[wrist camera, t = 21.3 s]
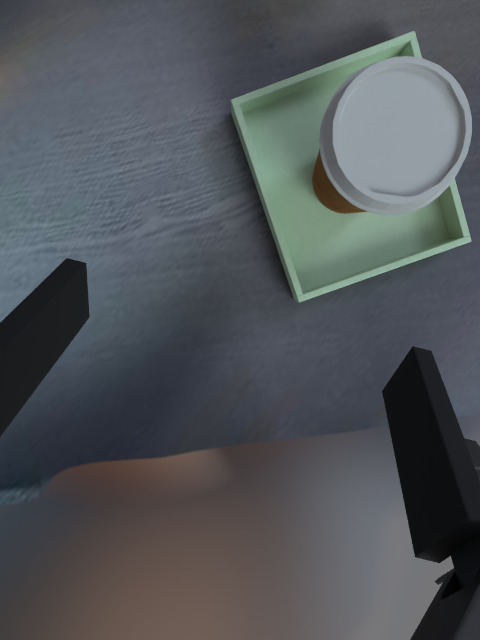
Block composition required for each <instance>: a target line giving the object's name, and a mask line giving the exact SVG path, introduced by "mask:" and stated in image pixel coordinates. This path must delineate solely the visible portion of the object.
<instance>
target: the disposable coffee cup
mask: <svg viewBox="0 0 480 640" xmlns="http://www.w3.org/2000/svg"><path fill="white" fill-rule="evenodd" d="M471 135H472V117H471V112H470V108H469V103H468V101H467V98H466V96H465V93H464V92H463V90H462V88H461V87H460V85H459V83H458V82H457V81H456V80H455V79H454V78H453V76H452V75H451V74H450V73H448V72H447V71H446V70H445V69H443V68H442V67H441V66H439V65H437V64H435V63H432V62H430V61H428V60H425V59H422V58H419V57H410V56H402V57H392V58H389V59H386V60H383V61H379V62H375V63H372V64H370V65H368V66H365V67H363V68H361V69H360V70H358V71H357V72H355V73H354V74H352V75H351V76H350V77H349V78H348V79H347V80H346V81H345V82H343V83H342V84H341V86H340V87H339V88H338V90H337V91H336V92H335V94H334V95H333V96H332V98H331V100H330V102H329V104H328V107H327V109H326V111H325V113H324V116H323V120H322V124H321V129H320V139H319V143H320V149H319V153H318V156H317V160H316V164H315V167H314V170H313V176H312V183H313V189H314V192H315V195H316V196H317V198H318V199H319V201H320V202H321V203H322V204H323V205H324V206H325V207H326V208H328V209H329V210H331V211H334V212H337V213H342V214H349V213H359V212H370V213H375V214H380V215H399V214H405V213H408V212H412V211H415V210H417V209H420V208H422V207H424V206H426V205H428V204H429V203H431V202H432V201H433V200H435V199H436V198H437V197H439V196H440V195H441V194H442V193H443V192H444V191H445V190H446V189H447V188H448V187H449V186H450V184H451V183H452V181H453V179H454V178H455V176H456V175H457V173H458V172H459V169H460V168H461V165H462V163H463V161H464V159H465V157H466V155H467V153H468V149H469V145H470V142H471Z"/></svg>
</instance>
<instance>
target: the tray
mask: <svg viewBox="0 0 480 640" xmlns="http://www.w3.org/2000/svg"><path fill="white" fill-rule="evenodd" d="M402 56H410V57H419V58H422V56H421V53H420V49H419V45H418V42H417V38H416V34H415V31H412V32H410V33H407V34H404V35H402V36H399V37H397V38H394V39H391V40H389V41H386V42H383V43H381V44H378V45H375V46H373V47H370V48H367V49H365V50H362V51H359V52H357V53H354V54H351V55H349V56H346V57H343V58H341V59H338V60H335V61H333V62H330V63H327V64H325V65H322V66H319V67H317V68H314V69H311V70H309V71H306V72H303V73H301V74H298V75H295V76H293V77H290V78H287V79H285V80H282V81H279V82H277V83H274V84H271V85H269V86H266V87H263V88H261V89H258V90H255V91H253V92H250V93H247V94H245V95H242V96H239V97H237V98H234V99H231V114H232V117H233V120H234V123H235V126H236V129H237V132H238V135H239V138H240V141H241V144H242V147H243V150H244V153H245V156H246V158H247V161H248V164H249V167H250V170H251V173H252V176H253V179H254V182H255V185H256V188H257V191H258V194H259V197H260V200H261V203H262V206H263V209H264V212H265V215H266V218H267V221H268V224H269V227H270V229H271V232H272V235H273V238H274V241H275V244H276V247H277V250H278V253H279V256H280V259H281V262H282V265H283V268H284V271H285V274H286V277H287V280H288V283H289V286H290V289H291V292H292V295H293V298H294V300H295V301H297V302H302V301H305V300H308V299H310V298H313V297H316V296H319V295H322V294H325V293H327V292H330V291H333V290H336V289H339V288H341V287H344V286H347V285H350V284H353V283H356V282H358V281H361V280H364V279H367V278H370V277H373V276H375V275H378V274H381V273H384V272H387V271H389V270H392V269H395V268H398V267H401V266H404V265H406V264H409V263H412V262H415V261H418V260H421V259H423V258H426V257H429V256H432V255H435V254H437V253H440V252H443V251H446V250H449V249H452V248H454V247H457V246H460V245H463V244H466V243H469V242H471V237H470V233H469V230H468V226H467V222H466V219H465V215H464V211H463V208H462V204H461V200H460V197H459V193H458V189H457V185H456V182H455V178H454V179H453V181H452V183H451V184H450V186H449V187H448V188H447V189H446V190H445V191H444V192H443V193H442V194H441V195H440V196H439V197H437V198H436V199H435V200H433V201H432V202H431V203H429V204H428V205H426V206H424V207H422V208H420V209H417V210H415V211H412V212H408V213H405V214H399V215H380V214H375V213H370V212H359V213H349V214H342V213H337V212H334V211H331V210H329V209H328V208H326V207H325V206H324V205H323V204H322V203H321V202H320V201H319V199H318V198H317V196H316V195H315V192H314V189H313V183H312V176H313V170H314V167H315V164H316V160H317V156H318V153H319V149H320V143H319V139H320V129H321V124H322V120H323V116H324V113H325V111H326V109H327V107H328V104H329V102H330V100H331V98H332V96H333V95H334V94H335V92H336V91H337V90H338V88H339V87H340V86H341V84H342V83H343V82H345V81H346V80H347V79H348V78H349V77H350V76H351V75H352V74H354V73H355V72H357V71H358V70H360V69H361V68H363V67H365V66H368V65H370V64H372V63H375V62H379V61H383V60H386V59H389V58H392V57H402Z"/></svg>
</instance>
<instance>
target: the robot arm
mask: <svg viewBox="0 0 480 640" xmlns="http://www.w3.org/2000/svg"><path fill="white" fill-rule="evenodd" d="M88 318H89V303H88V286H87V269H86V263H84V262H80V261H76V260H72V259H68V258H67V259H66V260H64V261H63V262H62V263H61V264H60V265H59V266H58V267H57V268H56V269H55V270H54V271H53V272H52V273H51V274H50V275H49V276H48V277H47V278H46V279H45V280H44V281H43V282H42V283H41V284H40V285H39V286H38V287H37V288H36V289H35V290H34V291H33V292H32V293H31V294H29V295H28V296H27V297H26V298H25V299H24V300H23V301H22V302H21V303H20V304H19V305H18V306H17V307H16V308H15V309H14V310H13V311H12V312H11V313H10V314H9V315H8V316H7V317H6V318H5V319H4V320H3V321H2V322H1V323H0V436H1V435H2V434H3V432H4V431H5V430H6V428H7V427H8V426H9V424H10V423H11V422H12V420H13V419H14V418H15V416H16V415H17V414H18V412H19V411H20V410H21V408H22V407H23V405H24V404H25V403H26V401H27V400H28V399H29V397H30V396H31V395H32V393H33V392H34V391H35V389H36V388H37V387H38V385H39V384H40V383H41V381H42V380H43V379H44V377H45V376H46V375H47V373H48V372H49V371H50V369H51V368H52V367H53V365H54V364H55V363H56V361H57V360H58V359H59V357H60V356H61V355H62V353H63V352H64V351H65V349H66V348H67V347H68V345H69V344H70V343H71V341H72V340H73V338H74V337H75V336H76V334H77V333H78V332H79V330H80V329H81V328H82V326H83V325H84V324H85V322H86V321H87V320H88ZM382 393H383V398H384V403H385V408H386V413H387V418H388V423H389V428H390V433H391V438H392V443H393V448H394V453H395V458H396V463H397V468H398V473H399V478H400V483H401V488H402V493H403V498H404V503H405V508H406V514H407V518H408V523H409V528H410V534H411V538H412V544H413V549H414V554H415V557H417V558H421V559H425V560H429V561H433V562H437V563H440V562H442V561H443V560H445V559H446V558H448V557H449V556H451V558H452V562H453V565H454V569H452V570H450V571H449V572H447V573H446V574H444V575H443V576H441V577H440V578H438V579H437V580H436V581H435V582H436V583H437V584H438V585H439V584H440V583H442V582H443V583H442V585H441V587H440V589H439V591H438V592H437V594H436V596H435V597H434V599H433V601H432V603H431V604H430V606H429V608H428V610H427V611H426V613H425V615H424V617H423V619H422V620H421V622H420V624H419V626H418V627H417V629H416V631H415V632H414V634H413V636H412V638H411V640H480V446H479V445H478V444H477V443H476V441H472V440H468V439H464V437H463V434H462V431H461V429H460V426H459V424H458V421H457V418H456V415H455V413H454V410H453V407H452V405H451V402H450V399H449V397H448V394H447V391H446V389H445V386H444V383H443V381H442V378H441V375H440V373H439V370H438V367H437V365H436V362H435V359H434V356H433V354H432V351H429V350H425V349H421V348H417V347H414V346H413V347H412V348H411V350H410V351H409V352H408V354H407V355H406V357H405V358H404V360H403V361H402V363H401V364H400V366H399V367H398V369H397V370H396V372H395V373H394V375H393V376H392V377H391V379H390V380H389V382H388V383H387V385H386V386H385V388H384V389H383V391H382Z"/></svg>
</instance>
